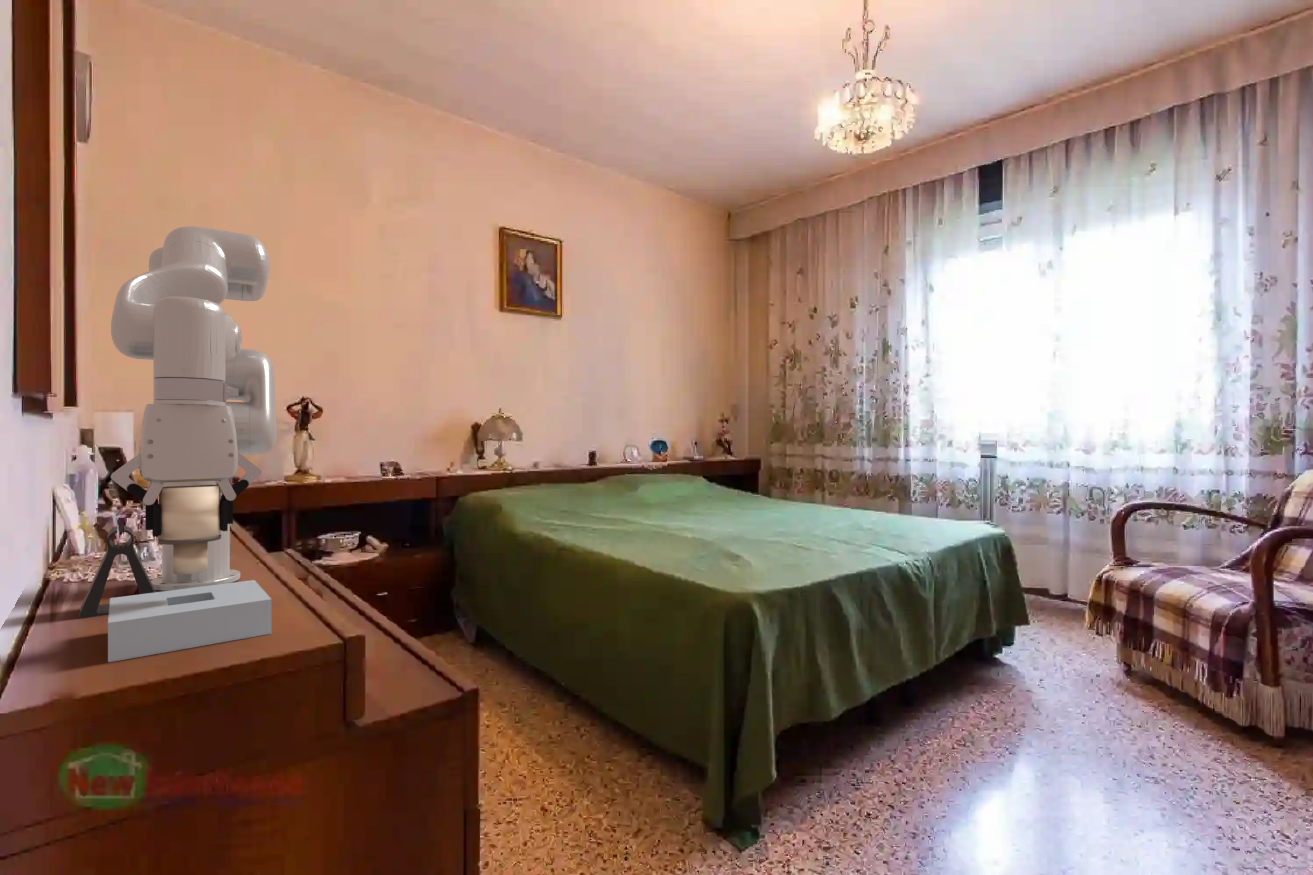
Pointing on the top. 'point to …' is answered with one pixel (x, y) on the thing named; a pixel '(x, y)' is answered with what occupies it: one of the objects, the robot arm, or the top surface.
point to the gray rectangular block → (186, 619)
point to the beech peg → (189, 524)
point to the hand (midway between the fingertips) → (190, 531)
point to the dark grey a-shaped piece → (96, 589)
